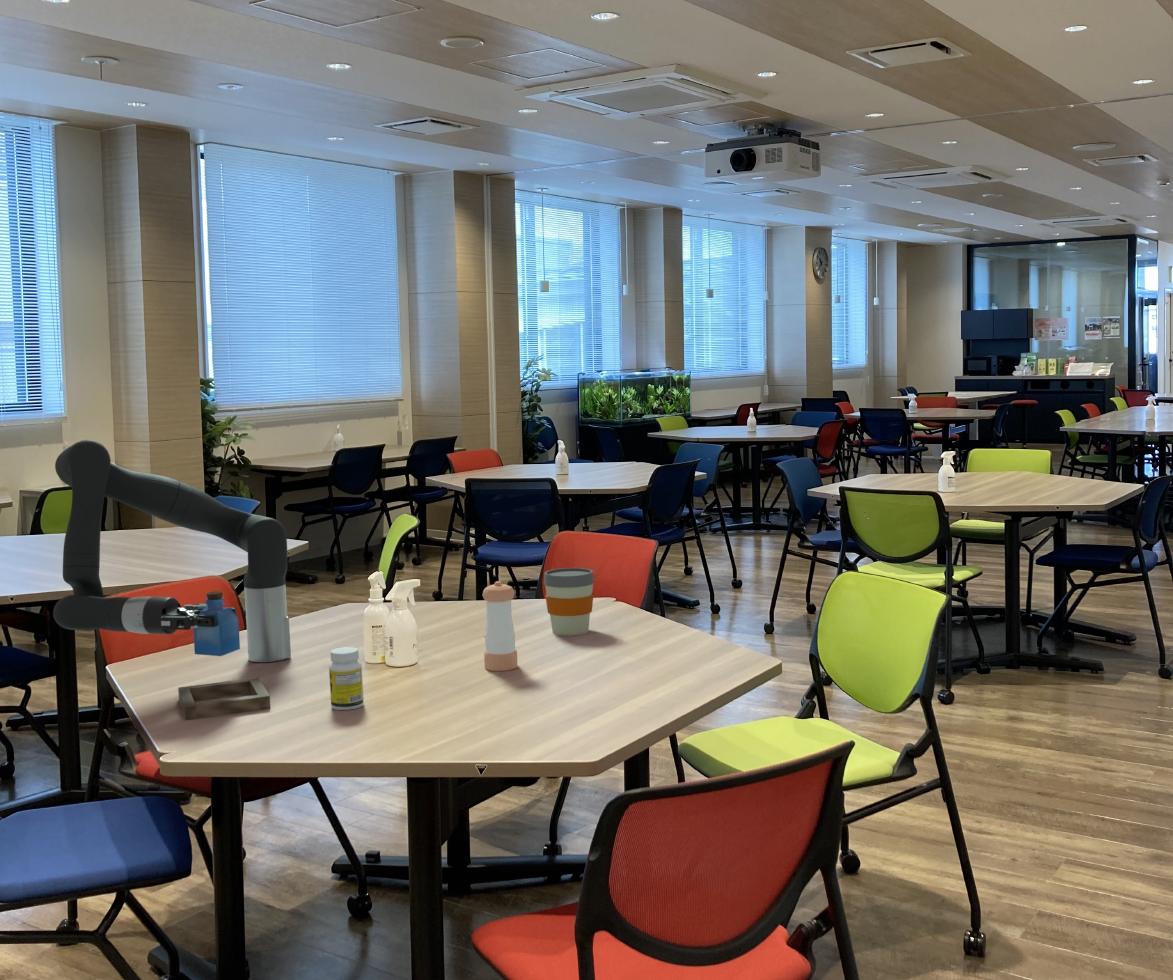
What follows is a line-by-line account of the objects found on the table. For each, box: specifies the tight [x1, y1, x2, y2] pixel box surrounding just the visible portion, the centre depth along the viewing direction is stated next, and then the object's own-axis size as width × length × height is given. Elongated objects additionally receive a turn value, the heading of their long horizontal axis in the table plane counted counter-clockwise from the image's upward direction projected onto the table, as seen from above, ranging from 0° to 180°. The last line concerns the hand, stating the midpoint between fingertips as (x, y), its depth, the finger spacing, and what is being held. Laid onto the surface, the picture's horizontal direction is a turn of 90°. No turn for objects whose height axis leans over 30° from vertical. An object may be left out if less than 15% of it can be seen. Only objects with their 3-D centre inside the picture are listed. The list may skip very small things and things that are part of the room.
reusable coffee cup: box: [543, 567, 595, 636], centre depth 292 cm, size 13×13×15 cm
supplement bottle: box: [328, 646, 364, 711], centre depth 232 cm, size 6×6×11 cm
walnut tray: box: [177, 677, 271, 721], centre depth 237 cm, size 16×16×2 cm
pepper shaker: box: [482, 580, 519, 672], centre depth 259 cm, size 7×7×19 cm
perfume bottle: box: [192, 590, 241, 657], centre depth 235 cm, size 6×6×12 cm
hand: (225, 617), depth 235 cm, fingers closed on perfume bottle, 6 cm apart
